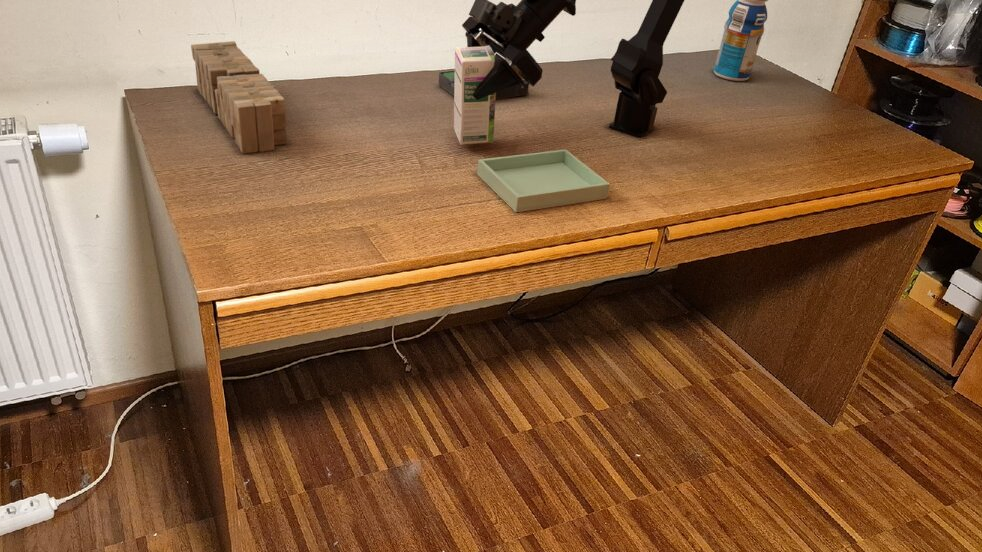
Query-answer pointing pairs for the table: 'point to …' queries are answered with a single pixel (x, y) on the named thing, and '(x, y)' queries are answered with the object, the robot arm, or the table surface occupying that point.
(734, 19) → the beverage bottle
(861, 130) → the table surface
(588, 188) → the tray
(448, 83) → the disk drive
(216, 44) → the block tower
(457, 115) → the syrup box
